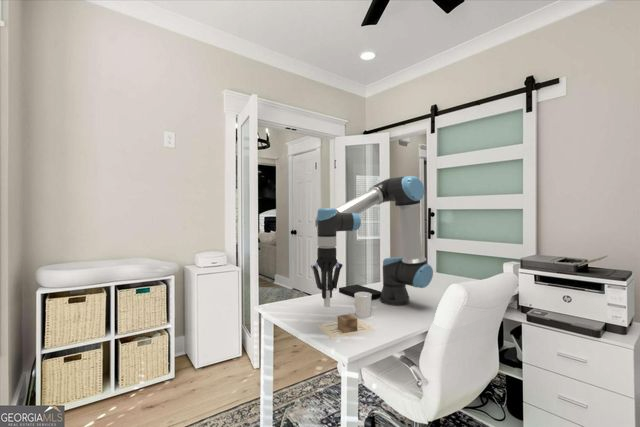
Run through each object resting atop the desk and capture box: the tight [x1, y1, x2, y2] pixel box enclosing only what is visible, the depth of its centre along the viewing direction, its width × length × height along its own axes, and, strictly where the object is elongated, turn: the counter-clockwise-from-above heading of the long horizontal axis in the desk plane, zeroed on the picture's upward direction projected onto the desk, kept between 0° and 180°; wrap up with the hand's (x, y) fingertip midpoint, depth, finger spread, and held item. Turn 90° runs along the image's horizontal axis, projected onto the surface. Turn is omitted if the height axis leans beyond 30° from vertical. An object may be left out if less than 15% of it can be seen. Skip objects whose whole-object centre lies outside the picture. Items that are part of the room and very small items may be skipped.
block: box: [337, 313, 358, 333], centre depth 127 cm, size 6×6×5 cm
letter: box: [316, 317, 377, 339], centre depth 129 cm, size 20×15×1 cm
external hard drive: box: [338, 284, 382, 301], centre depth 178 cm, size 14×23×3 cm, turn 34°
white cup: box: [354, 292, 372, 319], centre depth 143 cm, size 8×8×10 cm
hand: (327, 306), depth 123 cm, fingers closed
